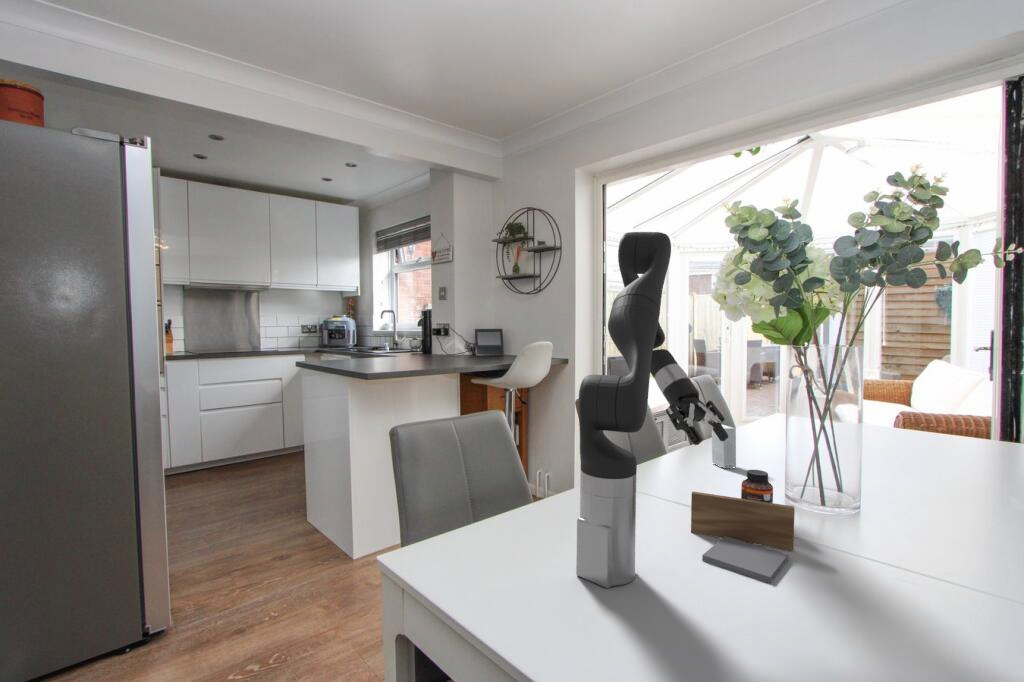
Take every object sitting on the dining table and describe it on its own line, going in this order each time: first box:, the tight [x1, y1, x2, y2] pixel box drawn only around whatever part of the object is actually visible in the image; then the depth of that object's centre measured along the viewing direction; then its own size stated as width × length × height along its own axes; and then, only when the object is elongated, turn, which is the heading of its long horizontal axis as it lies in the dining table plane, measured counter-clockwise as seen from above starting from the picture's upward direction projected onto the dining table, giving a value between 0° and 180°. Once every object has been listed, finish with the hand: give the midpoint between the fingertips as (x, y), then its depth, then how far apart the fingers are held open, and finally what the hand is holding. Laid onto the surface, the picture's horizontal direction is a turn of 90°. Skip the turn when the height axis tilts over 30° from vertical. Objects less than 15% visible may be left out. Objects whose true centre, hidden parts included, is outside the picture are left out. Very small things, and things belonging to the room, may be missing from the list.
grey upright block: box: [711, 424, 737, 469], centre depth 145 cm, size 6×4×12 cm
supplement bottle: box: [740, 469, 774, 503], centre depth 102 cm, size 6×6×11 cm
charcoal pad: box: [702, 536, 789, 584], centre depth 86 cm, size 11×11×1 cm
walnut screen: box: [690, 491, 796, 552], centre depth 94 cm, size 1×18×8 cm, turn 64°
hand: (712, 441), depth 112 cm, fingers open, 8 cm apart
